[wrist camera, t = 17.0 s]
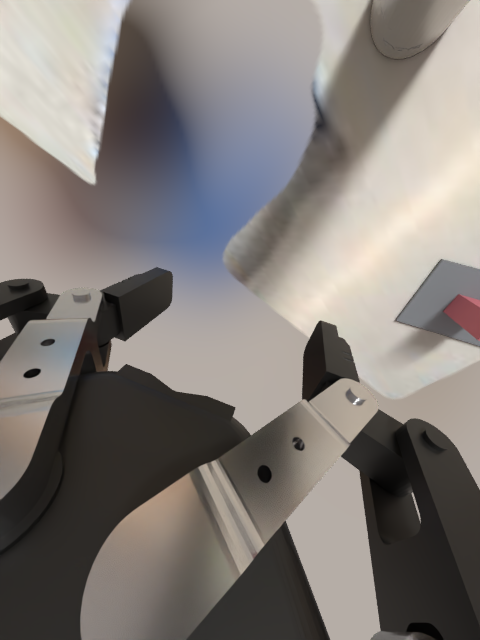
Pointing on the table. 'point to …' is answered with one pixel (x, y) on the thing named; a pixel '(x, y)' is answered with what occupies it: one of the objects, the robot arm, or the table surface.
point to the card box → (465, 314)
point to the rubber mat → (442, 300)
